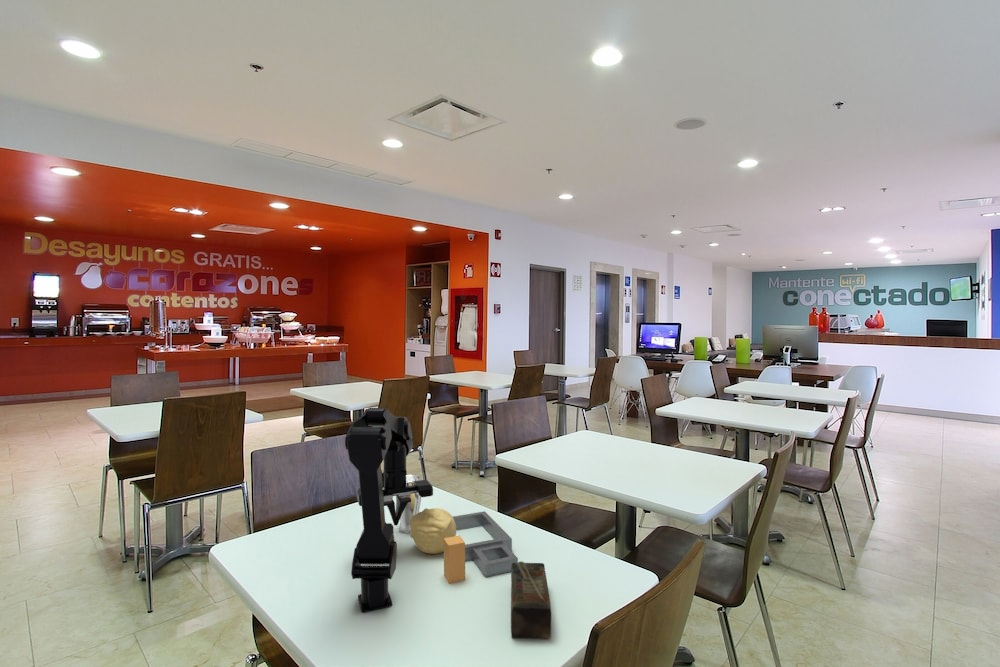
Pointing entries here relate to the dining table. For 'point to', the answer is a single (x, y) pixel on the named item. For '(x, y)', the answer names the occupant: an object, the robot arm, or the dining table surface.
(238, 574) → the dining table surface
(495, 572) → the grey flat openwork piece
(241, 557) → the dining table surface
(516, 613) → the beverage carton
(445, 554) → the orange rectangular block
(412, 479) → the beer glass
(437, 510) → the sculpture
